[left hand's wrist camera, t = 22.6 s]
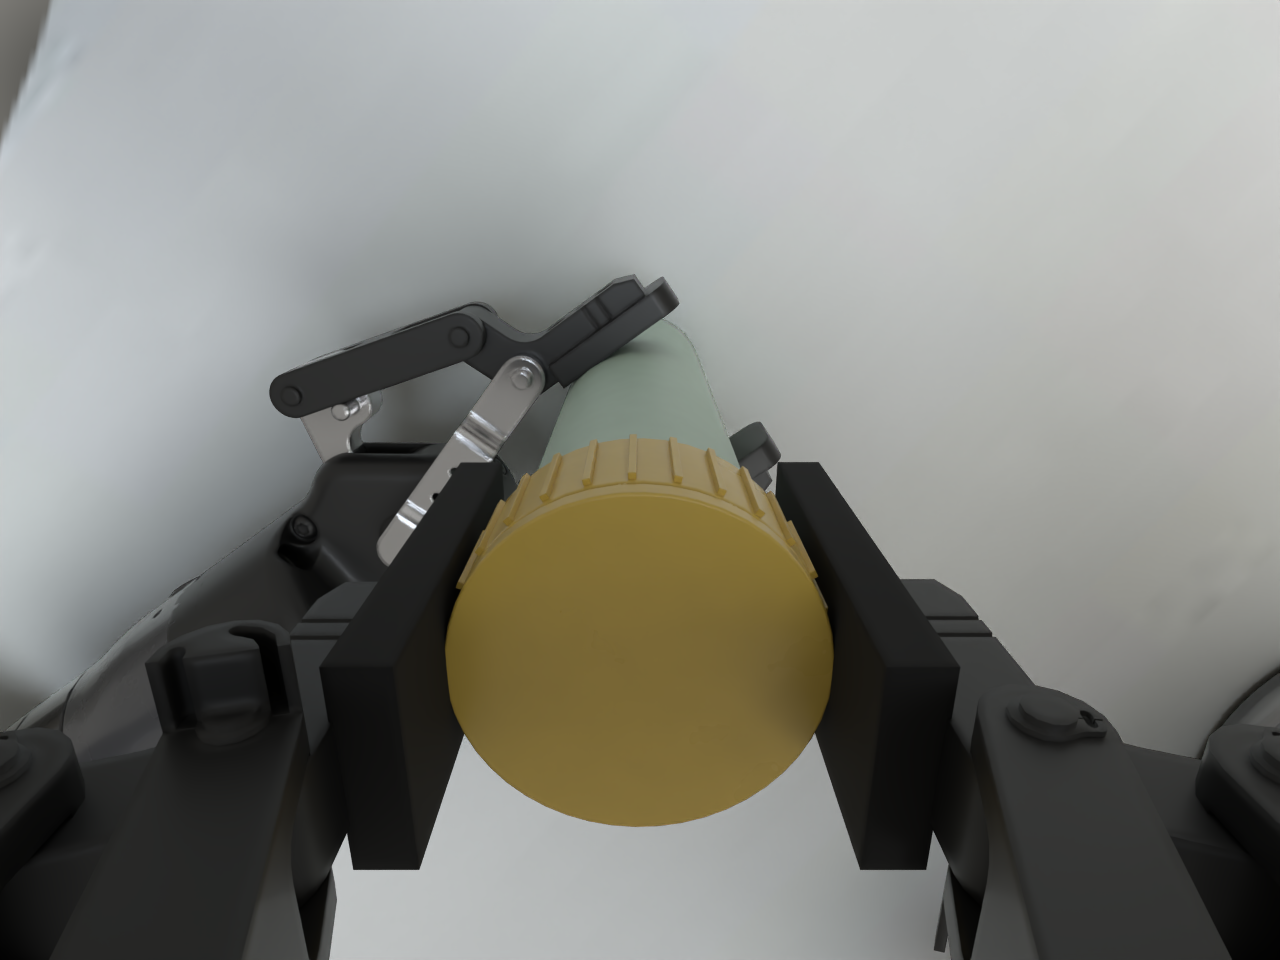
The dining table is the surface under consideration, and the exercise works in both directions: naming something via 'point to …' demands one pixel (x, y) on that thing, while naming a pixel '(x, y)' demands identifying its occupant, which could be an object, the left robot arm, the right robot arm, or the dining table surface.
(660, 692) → the lid
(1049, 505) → the dining table surface
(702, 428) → the green bottle
